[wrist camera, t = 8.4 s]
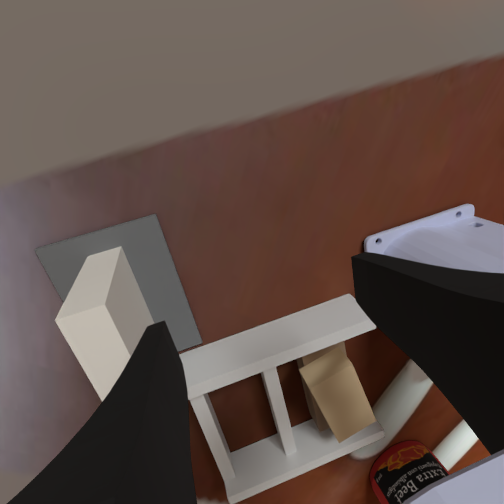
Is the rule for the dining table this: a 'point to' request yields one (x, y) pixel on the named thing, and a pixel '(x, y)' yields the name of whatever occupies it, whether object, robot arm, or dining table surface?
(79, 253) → the mat
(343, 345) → the offcut low
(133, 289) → the cream rectangular block
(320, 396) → the offcut top
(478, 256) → the robot arm
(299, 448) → the rack
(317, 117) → the dining table surface
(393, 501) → the canned food
